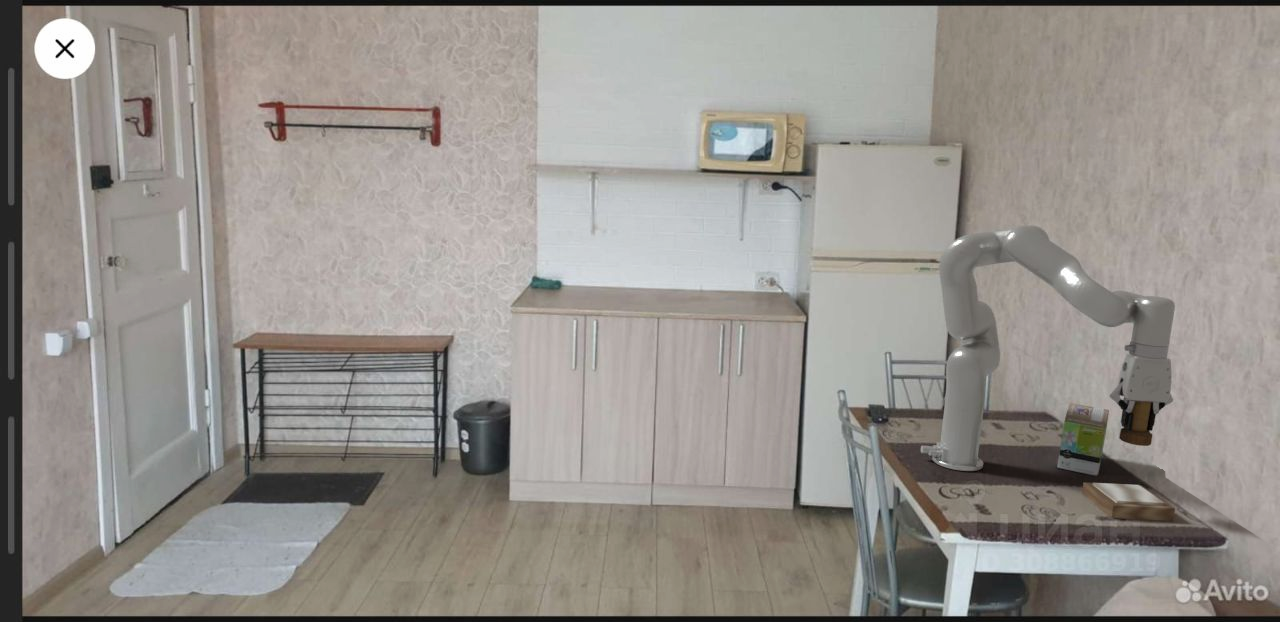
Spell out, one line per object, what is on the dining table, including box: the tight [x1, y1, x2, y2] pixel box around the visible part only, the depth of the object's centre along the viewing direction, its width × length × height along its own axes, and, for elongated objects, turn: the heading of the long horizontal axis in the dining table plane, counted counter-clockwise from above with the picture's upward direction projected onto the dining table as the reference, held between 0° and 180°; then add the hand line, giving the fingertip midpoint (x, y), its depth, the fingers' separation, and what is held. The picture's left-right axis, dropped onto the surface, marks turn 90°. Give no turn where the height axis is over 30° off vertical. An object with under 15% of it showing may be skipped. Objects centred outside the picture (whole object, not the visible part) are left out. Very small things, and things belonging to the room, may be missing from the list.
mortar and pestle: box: [1118, 401, 1153, 447], centre depth 204 cm, size 7×6×18 cm
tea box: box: [1056, 402, 1110, 477], centre depth 236 cm, size 15×10×15 cm
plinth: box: [1081, 481, 1176, 522], centre depth 208 cm, size 14×14×4 cm
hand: (1136, 427), depth 205 cm, fingers closed on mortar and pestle, 4 cm apart
